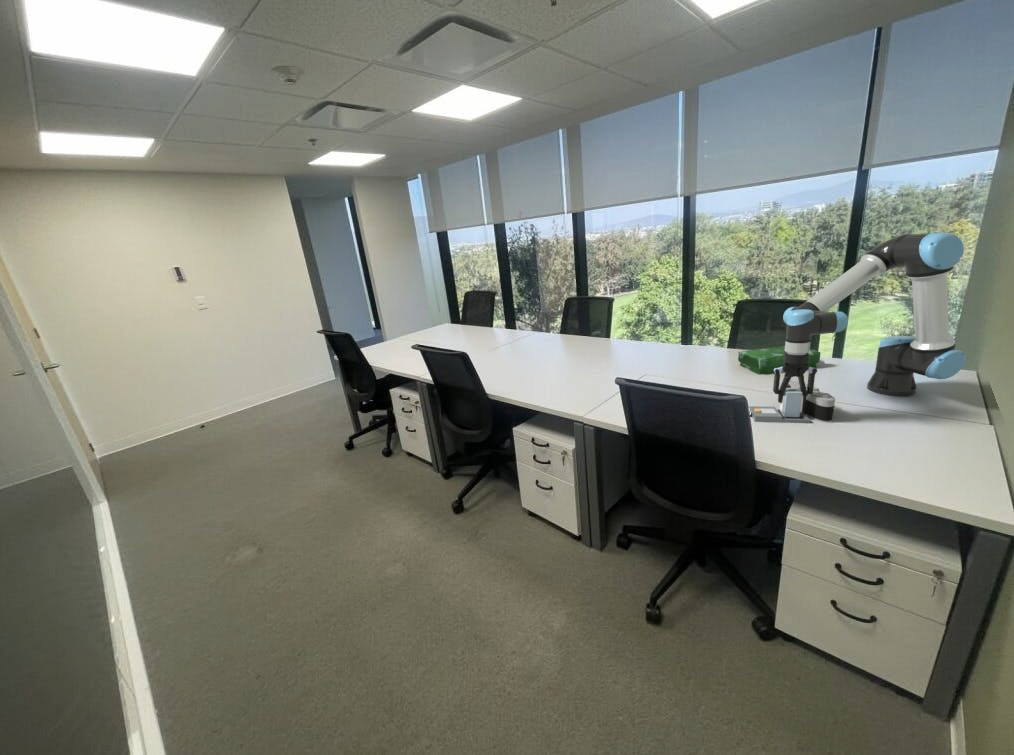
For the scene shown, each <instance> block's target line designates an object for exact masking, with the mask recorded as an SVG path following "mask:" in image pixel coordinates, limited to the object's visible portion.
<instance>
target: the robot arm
mask: <svg viewBox="0 0 1014 755" xmlns="http://www.w3.org/2000/svg"><path fill="white" fill-rule="evenodd" d="M964 250H965V247H964V243H963V241H962V239H961V238H960V237H959V236H957V235H955V234H954V233H950V232H949V233H948V232H925V233H915V234H914V233H909V234H908V233H906V234H901V235H897V236H894V237H892V238H890V239H888V240H885V241H883V242H882V243H880V244H879V245H877V246H875V247H873V248H872V249H871V250H869V251H868V252H866V253H865V254H864V255H862V256H861V257H860V261H859V262H858V263H856V264H855V265H854V266H852V267H850V269H848V270H847V271H845V272H844V273H843V274H841V275H840V276H838V277H837V278H836V279H834V280H833V281H831V283H829V284H828V285H827V286H825V287H824V288H822V289H821V290H820V291H818V292H817V293H816V294H814V295H813V296H811V297H810V298H809V299H808V300H806V301H805V302H804V303H802V304H801V305H799V306H791V307H789V308H787V309H785V311H784V313H783V316H782V318H783V319H782V320H783V322H784V323H785V324H786V332H785V333H786V334H785V341H784V342H785V343H784V346H785V351H786V352H785V353H784V362H783V365H782V367H780V368H774V369H773V370H774V373H773V374H774V376H773V377H774V378H773V386H772V391H773V392H772V393H774V394H775V395H778V396H777V403H779V409H780V410H781V411H782V412H784V408H785V398H786V396H785V395H784V393H785V390H786V388H787V385H788V383H789V381H790V380H792V378H794V377H796V378H798V379H797V380H798V381H799V385H800V389H801V392H802V401H801V409H800V412H802V404H803V403H805V402H806V396H808V394H812V393H813V388H814V387H815V377H816V374H817V372H818V369H817V367H816V368H814V367H809V365H808V360H809V353H808V352H809V351H810V349H811V341H812V336H815V335H816V336H818V335H826V334H835V333H839V332H843V331H844V330H846V328H847V327H848V323H849V318H848V315H847V314H846V313H844V311H830V312H829V310H831V309H832V308H833V307H835V306H836V305H837V304H839V303H840V302H841V301H843V300H845V299H846V298H847V297H849V296H850V295H851V294H852V293H854V292H855V291H857V290H859V289H860V287H862V286H863V285H865V284H867V283H868V282H869V281H870V280H872V279H874V278H875V277H877V276H881V275H884V274H885V273H886V272H888V271H889V270H892V269H896V268H902V269H903V268H904V269H905V278H908V279H910V280H911V282H912V283H911V285H912V300H913V301H912V303H913V305H912V306H913V320H914V321H913V323H914V335H913V336H912V335H900V336H899V335H897V336H894V335H893V336H886V337H883V338H881V340H880V343H879V345H878V351H877V354H876V355H877V357H876V363H875V370H874V372H873V374H872V375H871V377H870V379H869V380H868V381H867V383H866V389H867V390H868V391H870V392H872V393H875V394H878V395H882V394H883V395H882V396H887V395H888V396H889V397H911V396H914V395H916V394H917V384H916V380H915V377H914V374H918V375H920V376H924V377H927V378H930V379H935V380H947V379H949V378H952V377H953V376H955V375H957V374H958V373H959V372H960V371H961V370H962V368H963V367H964V366H965V364H966V361H967V357H966V354H965V353H964V352H963V351H961V350H960V349H959V350H958V349H956V341H955V339H953V338H952V337H950V333H949V332H950V331H949V303H948V301H949V300H948V297H949V295H948V274H950V273H951V272H952V271H953V270H954V266H956V265H957V264H959V262H960V261H961V258H962V257H963V255H964ZM782 370H783V371H784V372H783V373H784V376H783V379H782V381H781V374H782V372H781V371H782ZM806 372H808V377H807V383H806V382H805V375H804V374H805V373H806ZM780 382H781V383H780ZM805 383H806V384H807V390H806V386H805Z"/></svg>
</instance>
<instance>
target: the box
mask: <svg viewBox="0 0 1014 755" xmlns="http://www.w3.org/2000/svg"><path fill="white" fill-rule="evenodd" d="M785 352H786V351H785V345H782V346H772V347H765V348H757V349H756V348H755V349H746V350H741V351H738V354H737V355H738V356H737V357H738V358H737V360H738V362H739V366H740V367H742V368H744V369H746V370H748V371H750V372H753V373H754V374H756V375H760V376H761V375H767V374H768V375H769V374H775V373H774V370H773V369H774V368H780V367H782V365H783V362H784V353H785ZM808 353H809V360H808V365H809V367H814V368H816V369H817V364H819V363H820V361H821V351H818V350H814V349H811V348H810V351H809V352H808ZM781 373H785V372H784V371H783V370H782V371H781Z"/></svg>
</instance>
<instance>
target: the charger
mask: <svg viewBox="0 0 1014 755" xmlns="http://www.w3.org/2000/svg"><path fill="white" fill-rule="evenodd" d="M784 395H785V396H786V398H785V408H784V412H782V411H781V410H780V412H781V413H780V414H781V416H782V417H783V418H800V417H801V416H800V409H801V401H802V392H801V391H800V390H799V389H798V388H786V390H785V393H784Z"/></svg>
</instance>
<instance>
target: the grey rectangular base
mask: <svg viewBox="0 0 1014 755" xmlns="http://www.w3.org/2000/svg"><path fill="white" fill-rule="evenodd" d="M749 408H750V412H751V416H750V417H752V419H753V421H754V422H755V423H788V424H789V423H791V424H792V423H793V424H810V423H811V419H810V417H809V416H807V415H805V414H804V413H803V412H800V417H801V418H783V415H782V413H781V412H780V408H779V409H777V408H776V407H775V406H760V405H759V406H753V405H752V406H748V409H749ZM750 412H749V413H750Z"/></svg>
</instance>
